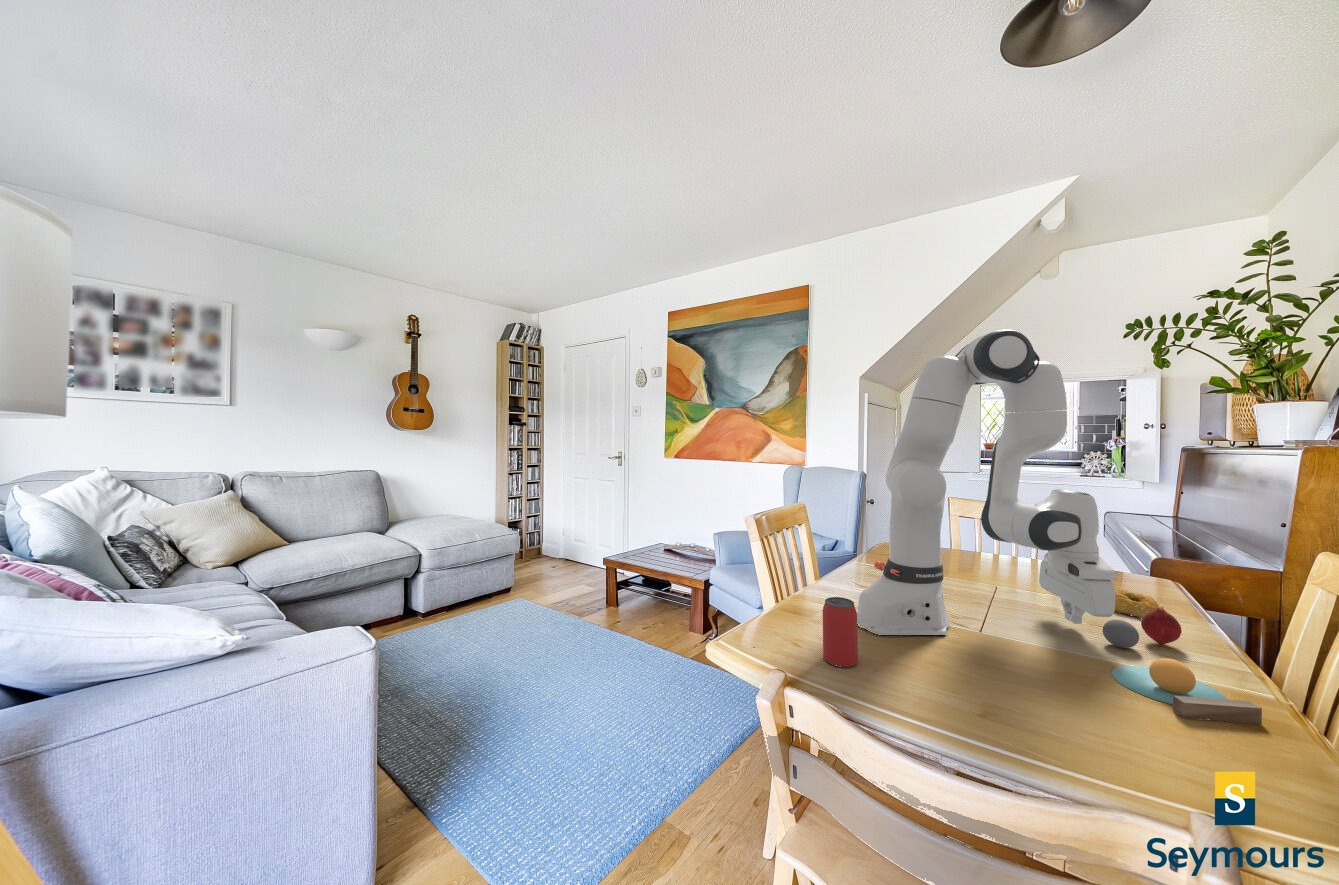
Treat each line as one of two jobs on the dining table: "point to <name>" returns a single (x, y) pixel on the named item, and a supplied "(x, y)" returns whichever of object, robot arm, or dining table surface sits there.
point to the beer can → (840, 632)
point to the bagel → (1133, 603)
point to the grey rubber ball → (1120, 633)
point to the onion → (1161, 626)
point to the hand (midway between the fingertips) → (1073, 621)
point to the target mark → (1144, 685)
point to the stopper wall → (1217, 709)
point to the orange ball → (1172, 676)
